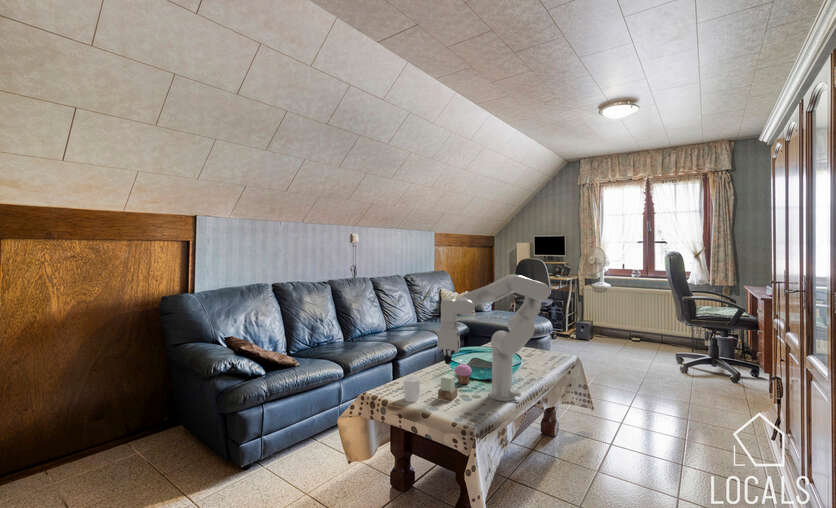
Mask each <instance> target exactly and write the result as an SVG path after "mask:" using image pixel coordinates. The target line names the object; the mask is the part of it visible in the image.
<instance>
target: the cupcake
mask: <svg viewBox="0 0 836 508" xmlns="http://www.w3.org/2000/svg"><path fill="white" fill-rule="evenodd" d="M472 372H473V370H472V368H471V366H470V365H469V364H464V363H463V364H462V363H461V364H458V365H457V366H455V369H454V373H455V374H456V378H457V382H458V384H460V385H468V384H469V382H470V376H471V375H472Z"/></svg>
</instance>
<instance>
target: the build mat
mask: <svg viewBox="0 0 836 508" xmlns="http://www.w3.org/2000/svg"><path fill="white" fill-rule="evenodd" d="M459 397H460V396H459V395H457V397H456V398H455V399H454V400H453V401H447V400H442V399H438V397H437V398H435V399H436V400H439V401H444V402H449V403H454V402H455V401H456V400H457V399H458V398H459Z"/></svg>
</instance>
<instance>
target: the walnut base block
mask: <svg viewBox="0 0 836 508" xmlns="http://www.w3.org/2000/svg"><path fill="white" fill-rule="evenodd" d="M457 396H458V388H457V387H455V389H454V390H452V391H451V392H449V391H444V390H441V387H440V388H439V389H437V398H438V399H442V400H441V401H443V400H447V401H446V402H448V401H453V400H454V399H455V398H456V397H457ZM438 399H437V400H438Z"/></svg>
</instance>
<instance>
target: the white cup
mask: <svg viewBox="0 0 836 508" xmlns="http://www.w3.org/2000/svg"><path fill="white" fill-rule="evenodd" d="M420 390H421V378H420V377H419V376H412V375H411V376H410V375H409V376H406V377H404V378H403V396H404V398H403V399H404V401H405V402H408V403H417V402H418V401H419V400H420V395H421V394H420V393H421V391H420Z"/></svg>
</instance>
